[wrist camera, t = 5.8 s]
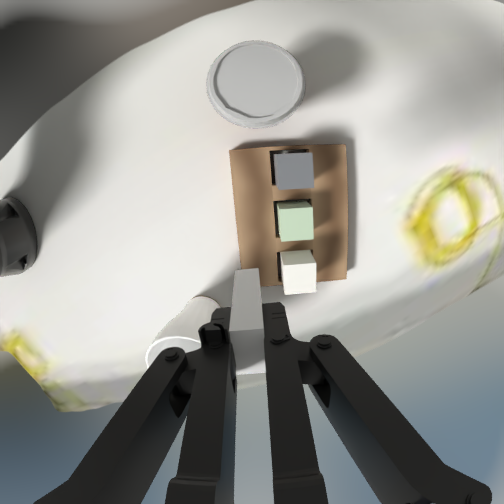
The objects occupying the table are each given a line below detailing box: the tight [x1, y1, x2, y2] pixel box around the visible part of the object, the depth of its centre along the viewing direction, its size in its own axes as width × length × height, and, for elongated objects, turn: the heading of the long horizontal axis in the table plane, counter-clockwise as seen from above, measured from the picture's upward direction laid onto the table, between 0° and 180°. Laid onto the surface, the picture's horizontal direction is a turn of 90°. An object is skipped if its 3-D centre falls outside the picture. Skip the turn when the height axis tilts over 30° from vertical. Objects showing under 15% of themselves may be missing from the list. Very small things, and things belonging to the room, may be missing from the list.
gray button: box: [274, 153, 314, 190], centre depth 32 cm, size 4×4×5 cm
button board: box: [229, 144, 348, 287], centre depth 37 cm, size 15×19×2 cm
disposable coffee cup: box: [206, 41, 306, 129], centre depth 28 cm, size 10×10×12 cm
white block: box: [280, 250, 316, 295], centre depth 36 cm, size 4×4×5 cm
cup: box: [146, 296, 220, 368], centre depth 38 cm, size 10×10×14 cm
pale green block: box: [276, 200, 314, 242], centre depth 36 cm, size 4×4×5 cm
